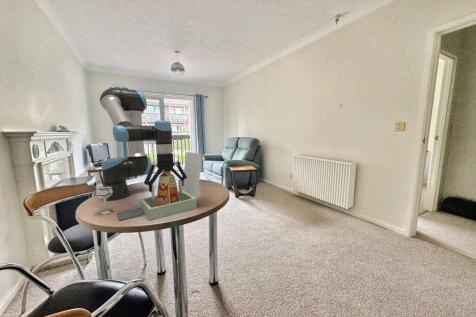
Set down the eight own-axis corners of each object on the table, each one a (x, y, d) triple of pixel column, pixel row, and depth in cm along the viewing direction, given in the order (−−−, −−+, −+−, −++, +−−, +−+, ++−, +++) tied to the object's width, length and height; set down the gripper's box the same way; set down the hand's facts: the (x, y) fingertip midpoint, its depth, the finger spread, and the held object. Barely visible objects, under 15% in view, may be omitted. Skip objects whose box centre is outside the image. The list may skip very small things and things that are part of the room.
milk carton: (172, 212, 94) (169, 171, 91) (154, 211, 96) (151, 170, 93) (181, 205, 103) (179, 167, 100) (165, 204, 105) (162, 167, 102)
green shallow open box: (140, 208, 100) (139, 199, 99) (182, 199, 113) (182, 190, 112) (150, 220, 86) (149, 209, 85) (196, 208, 99) (196, 198, 98)
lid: (186, 151, 112) (188, 152, 113) (182, 190, 112) (184, 190, 113) (201, 154, 98) (203, 154, 99) (196, 198, 98) (198, 197, 99)
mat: (116, 214, 93) (116, 212, 93) (139, 208, 99) (139, 207, 99) (119, 221, 85) (119, 219, 85) (144, 215, 91) (144, 213, 91)
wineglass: (118, 209, 99) (115, 186, 97) (106, 215, 92) (104, 190, 90) (106, 209, 100) (103, 186, 98) (94, 214, 93) (91, 189, 92)
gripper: (138, 155, 85) (142, 203, 88) (192, 151, 100) (194, 192, 103) (134, 154, 91) (138, 198, 94) (186, 150, 106) (188, 189, 109)
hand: (167, 195), depth 98 cm, fingers open, 13 cm apart
